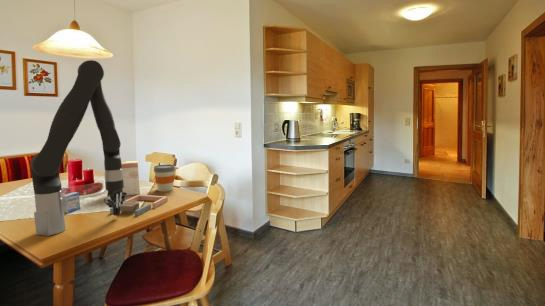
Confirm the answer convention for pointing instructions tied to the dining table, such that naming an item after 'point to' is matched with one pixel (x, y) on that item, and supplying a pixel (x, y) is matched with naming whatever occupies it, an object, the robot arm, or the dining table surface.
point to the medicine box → (71, 202)
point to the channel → (138, 211)
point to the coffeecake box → (130, 178)
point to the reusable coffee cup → (164, 177)
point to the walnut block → (129, 207)
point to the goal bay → (149, 199)
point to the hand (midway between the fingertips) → (117, 214)
